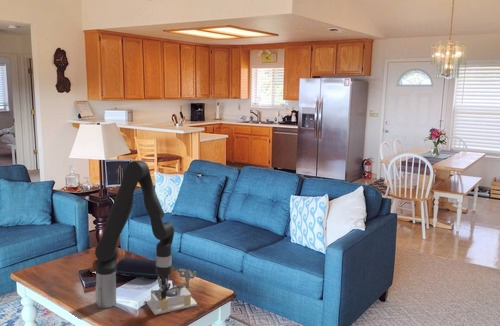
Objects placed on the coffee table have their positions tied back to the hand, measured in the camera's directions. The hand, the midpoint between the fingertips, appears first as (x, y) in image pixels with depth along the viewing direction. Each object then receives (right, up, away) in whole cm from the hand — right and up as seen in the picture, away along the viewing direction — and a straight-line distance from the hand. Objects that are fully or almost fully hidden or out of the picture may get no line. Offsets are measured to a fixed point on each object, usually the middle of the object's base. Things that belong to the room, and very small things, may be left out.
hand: (163, 297), depth 218 cm
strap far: (+8, +2, +10) cm, 13 cm away
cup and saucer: (-45, +2, +41) cm, 61 cm away
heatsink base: (+2, -6, +8) cm, 10 cm away
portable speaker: (-21, 0, +38) cm, 43 cm away
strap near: (-3, -1, +4) cm, 5 cm away
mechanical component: (+8, -3, +26) cm, 28 cm away
